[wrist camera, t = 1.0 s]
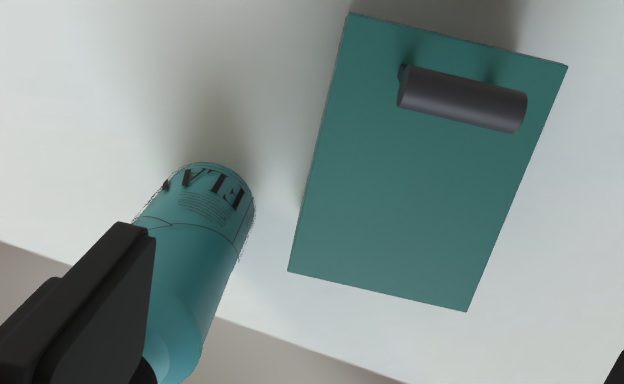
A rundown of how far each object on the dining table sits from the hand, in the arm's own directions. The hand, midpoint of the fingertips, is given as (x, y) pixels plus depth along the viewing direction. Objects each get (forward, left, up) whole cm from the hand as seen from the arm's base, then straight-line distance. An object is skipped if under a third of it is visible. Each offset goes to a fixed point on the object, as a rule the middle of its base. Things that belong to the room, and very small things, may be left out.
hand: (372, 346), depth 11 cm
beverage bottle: (+7, -11, -25) cm, 28 cm away
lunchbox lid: (+4, +2, -18) cm, 19 cm away
